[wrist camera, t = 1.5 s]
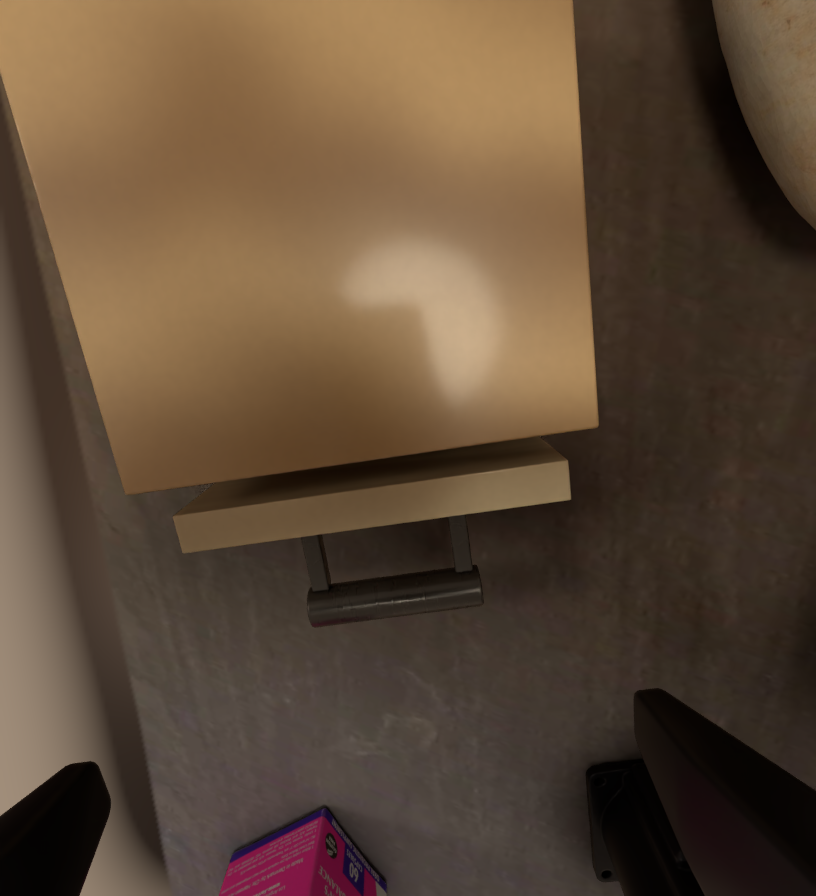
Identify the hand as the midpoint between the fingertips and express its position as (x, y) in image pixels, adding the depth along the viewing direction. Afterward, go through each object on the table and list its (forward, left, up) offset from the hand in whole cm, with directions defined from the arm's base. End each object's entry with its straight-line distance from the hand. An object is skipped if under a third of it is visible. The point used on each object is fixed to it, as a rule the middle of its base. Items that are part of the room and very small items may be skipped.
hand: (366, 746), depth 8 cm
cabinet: (+10, 0, -12) cm, 16 cm away
